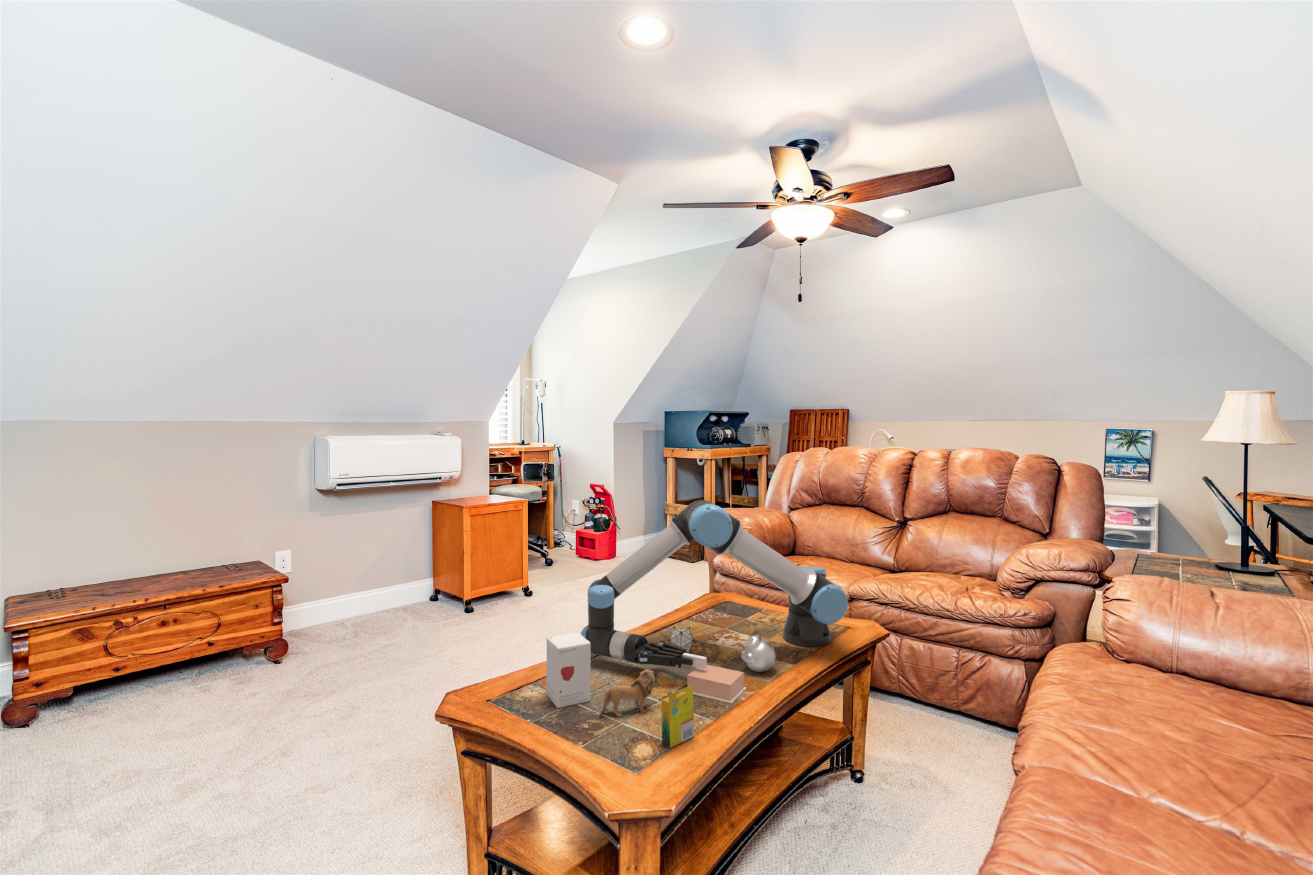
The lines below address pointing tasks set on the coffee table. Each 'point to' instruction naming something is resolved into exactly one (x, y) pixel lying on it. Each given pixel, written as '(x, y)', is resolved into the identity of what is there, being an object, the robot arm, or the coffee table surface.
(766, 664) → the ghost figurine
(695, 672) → the peach rectangular block
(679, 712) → the crayon box
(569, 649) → the supplement box
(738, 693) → the felt mat
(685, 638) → the game die
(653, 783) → the coffee table surface
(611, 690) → the lion figurine
